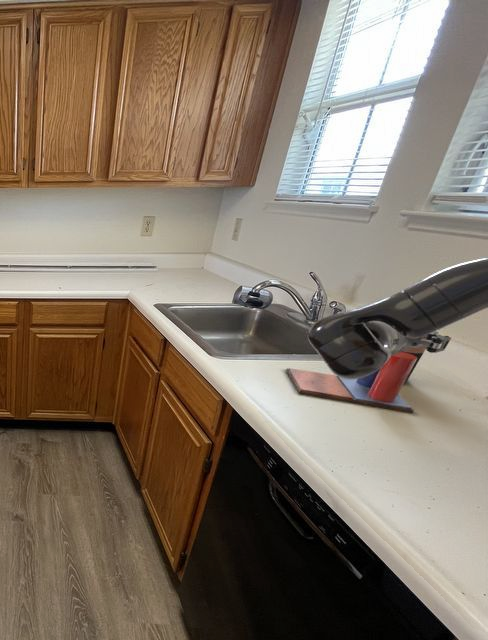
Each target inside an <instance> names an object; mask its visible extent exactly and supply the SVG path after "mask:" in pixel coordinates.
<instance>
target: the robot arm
mask: <svg viewBox="0 0 488 640" xmlns="http://www.w3.org/2000/svg"><path fill="white" fill-rule="evenodd" d="M486 309H488V257H484V258H478V259H474V260H470V261H469V260H468V261H466V262H461V263H458V264H455V265H452V266H449V267H446V268H444V269H442V270H439V271H437V272H435V273H433V274H431V275H429V276H427V277H425V278H423V279H422V280H419V281H418V282H416V283H413V284H412V285H410V286H407V287H406V288H404V289H402V290H400V291H398V292H396V293H394V294H392V295H390V296H387V297H385V298H383V299H381V300H378V301H375V302H372V303H369V304H366V305H363V306H360V307H356V308H353V309H349V310H347V311H346V310H345V311H341V312H338V313H334V314H331V315H328V316H325V317H322V318H321V319H319V320H317V321H316V322H315V323H313V324H312V325H311V327H310V328H309V329H308V331H307V334H306V338H307V341H308V342H309V344H310V345H311V347H312V348H313V349H314V350H315V351H316V353H317V354H318V356H319V357H320V358H321V360H322V361H323V362H324V364H325V365H326V366H327V367H328V369H329V370H330V371H331V373H333V375H335V376H338V377H340V378H343V379H349V380H353V379H359V378H363V377H366V376H368V375H371V374H373V373H374V372H376V371H377V370H379V369H380V368H381V367H382V366H383V365H384V364H385V363H386V362H387V361H388V360H389V358H390V356H392V355H395V354H397V353H400V352H402V351H404V350H405V349H407V348H408V347H415V348H419V347H420V346H426V348H425V352H426V351H427V352H428V353H430V354H431V353H432V354H433V353H434V354H436V353H440V352H444V351H445V350H446V348H447V346H448V345H449V343H450V341H451V340H452V337H451V336H449V335H441V334H439V331H440V330H442V329H444V328H446V327H448V326H451V325H453V324H455V323H457V322H460V321H462V320H464V319H466V318H469V317H471V316H473V315H475V314H477V313H479V312H482V311H484V310H486ZM426 336H427V337H426ZM425 337H426V339H425Z"/></svg>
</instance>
